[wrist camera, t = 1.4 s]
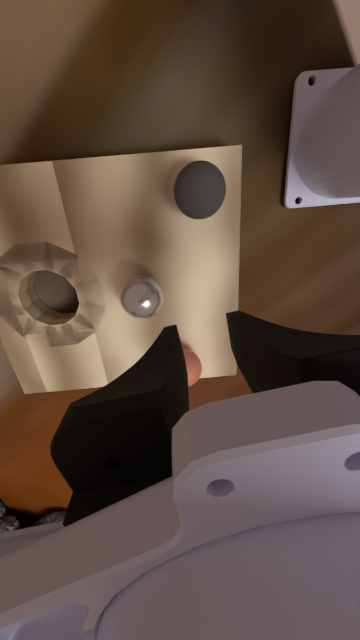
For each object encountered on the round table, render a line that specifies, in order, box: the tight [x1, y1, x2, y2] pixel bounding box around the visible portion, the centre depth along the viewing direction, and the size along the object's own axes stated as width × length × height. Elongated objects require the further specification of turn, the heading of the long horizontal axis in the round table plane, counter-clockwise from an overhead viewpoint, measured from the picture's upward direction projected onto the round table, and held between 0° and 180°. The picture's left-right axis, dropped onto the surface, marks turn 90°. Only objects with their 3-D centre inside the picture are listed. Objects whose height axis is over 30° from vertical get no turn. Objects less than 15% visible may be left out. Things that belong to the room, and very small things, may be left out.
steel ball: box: [119, 275, 164, 319], centre depth 18 cm, size 3×3×3 cm
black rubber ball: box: [174, 160, 226, 219], centre depth 15 cm, size 3×3×3 cm
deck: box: [0, 145, 242, 394], centre depth 20 cm, size 20×18×2 cm
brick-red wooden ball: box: [183, 349, 202, 387], centre depth 20 cm, size 3×3×3 cm
